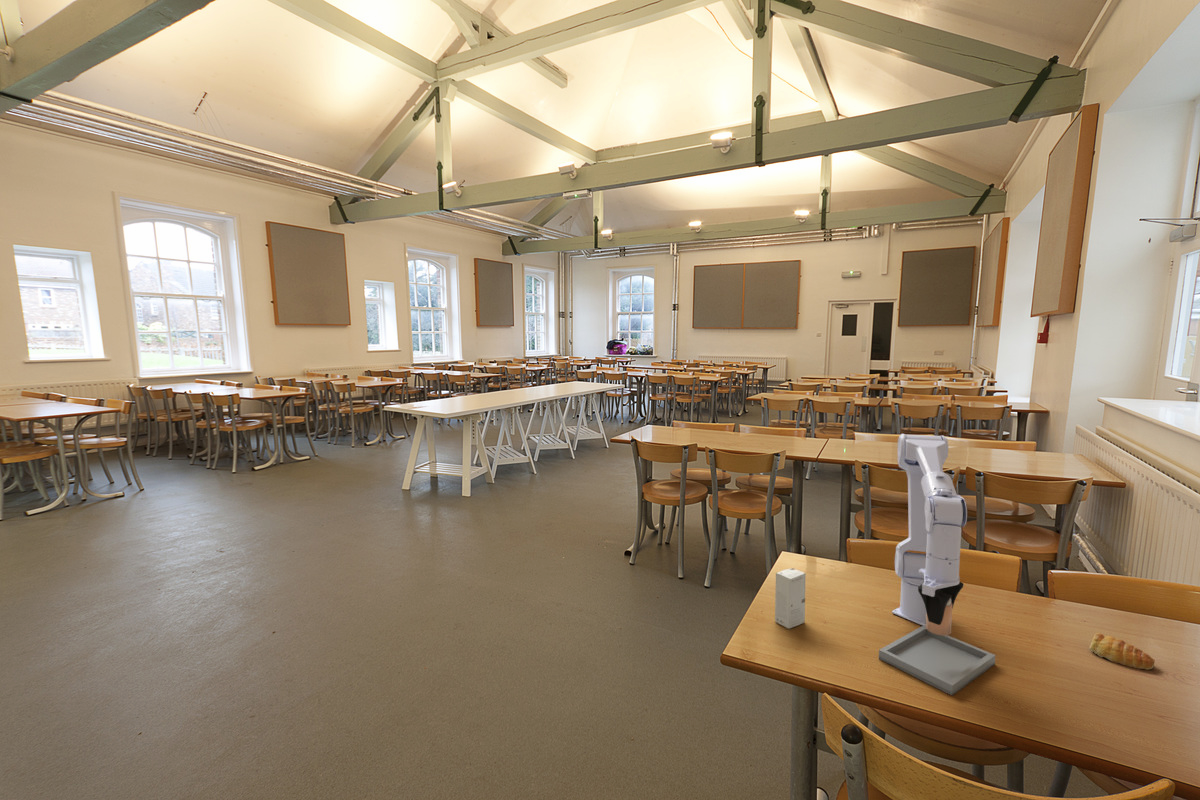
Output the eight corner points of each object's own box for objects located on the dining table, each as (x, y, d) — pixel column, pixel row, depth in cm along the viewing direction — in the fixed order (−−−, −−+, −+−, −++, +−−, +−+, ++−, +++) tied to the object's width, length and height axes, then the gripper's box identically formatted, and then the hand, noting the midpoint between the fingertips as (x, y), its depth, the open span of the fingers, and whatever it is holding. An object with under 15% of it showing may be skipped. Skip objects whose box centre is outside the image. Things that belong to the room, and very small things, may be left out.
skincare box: (789, 629, 122) (790, 579, 121) (773, 621, 126) (774, 572, 125) (805, 622, 126) (807, 573, 124) (789, 614, 129) (791, 566, 128)
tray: (923, 633, 120) (923, 625, 120) (994, 664, 108) (995, 655, 108) (878, 658, 110) (879, 649, 110) (951, 695, 99) (952, 685, 98)
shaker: (929, 622, 112) (931, 590, 111) (953, 630, 108) (955, 597, 108) (922, 629, 109) (923, 596, 108) (946, 637, 106) (948, 604, 105)
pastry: (1156, 664, 108) (1158, 646, 108) (1149, 676, 104) (1151, 658, 104) (1095, 643, 116) (1096, 627, 115) (1086, 654, 112) (1088, 637, 111)
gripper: (934, 540, 115) (930, 600, 116) (906, 558, 106) (903, 622, 107) (972, 550, 109) (968, 612, 111) (947, 569, 100) (943, 637, 101)
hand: (939, 618), depth 108 cm, fingers closed on shaker, 4 cm apart
